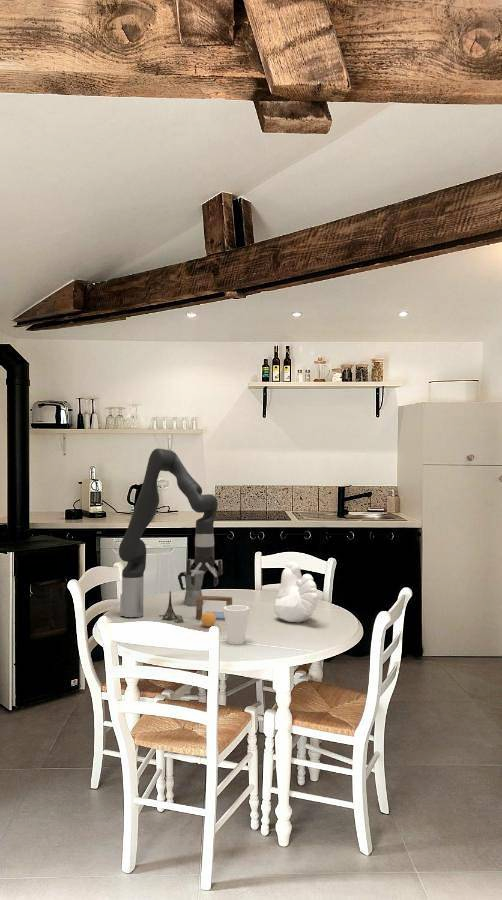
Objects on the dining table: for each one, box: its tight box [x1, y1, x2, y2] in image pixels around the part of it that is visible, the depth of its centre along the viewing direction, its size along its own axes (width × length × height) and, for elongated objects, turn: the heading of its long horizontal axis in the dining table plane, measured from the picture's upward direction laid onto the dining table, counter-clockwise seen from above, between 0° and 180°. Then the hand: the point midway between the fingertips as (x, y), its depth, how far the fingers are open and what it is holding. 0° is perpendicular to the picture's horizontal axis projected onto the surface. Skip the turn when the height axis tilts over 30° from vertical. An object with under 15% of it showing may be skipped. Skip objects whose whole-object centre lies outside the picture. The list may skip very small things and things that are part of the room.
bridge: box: [195, 595, 233, 621], centre depth 306 cm, size 3×15×10 cm, turn 82°
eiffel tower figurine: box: [158, 590, 185, 624], centre depth 306 cm, size 15×10×13 cm
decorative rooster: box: [273, 560, 319, 623], centre depth 303 cm, size 25×16×25 cm, turn 16°
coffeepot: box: [177, 565, 206, 607], centre depth 335 cm, size 15×9×18 cm, turn 129°
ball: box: [200, 611, 217, 628], centre depth 294 cm, size 6×6×6 cm
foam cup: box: [223, 604, 250, 646], centre depth 271 cm, size 10×9×13 cm
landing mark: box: [206, 610, 225, 620], centre depth 314 cm, size 12×12×1 cm
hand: (204, 585), depth 285 cm, fingers open, 8 cm apart
